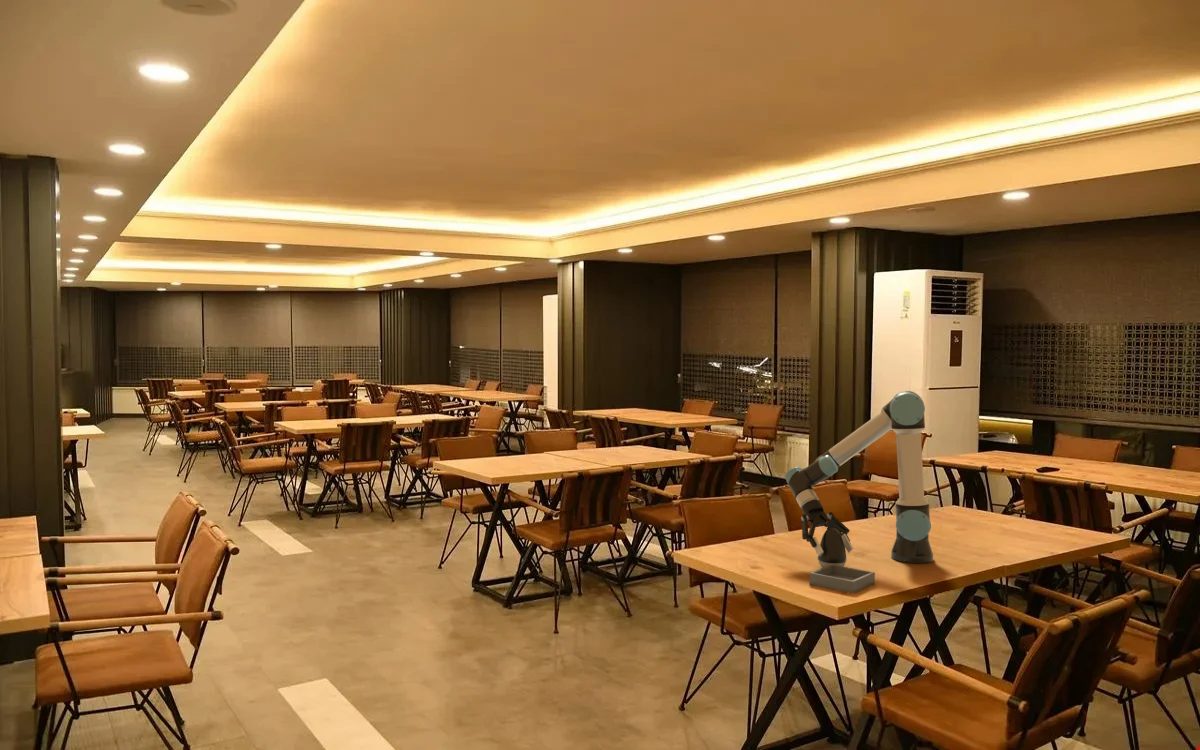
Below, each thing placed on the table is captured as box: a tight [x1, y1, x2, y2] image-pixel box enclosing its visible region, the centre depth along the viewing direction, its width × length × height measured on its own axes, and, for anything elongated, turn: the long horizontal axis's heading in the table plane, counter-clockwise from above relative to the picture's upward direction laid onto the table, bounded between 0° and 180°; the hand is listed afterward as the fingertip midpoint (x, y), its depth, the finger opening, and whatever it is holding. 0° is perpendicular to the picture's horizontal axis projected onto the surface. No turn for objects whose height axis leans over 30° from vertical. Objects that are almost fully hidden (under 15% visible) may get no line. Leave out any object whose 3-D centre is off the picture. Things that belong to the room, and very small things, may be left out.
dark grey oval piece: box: [817, 527, 848, 568], centre depth 309 cm, size 10×10×15 cm
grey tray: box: [808, 564, 876, 594], centre depth 290 cm, size 16×16×4 cm
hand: (836, 552), depth 307 cm, fingers open, 13 cm apart
